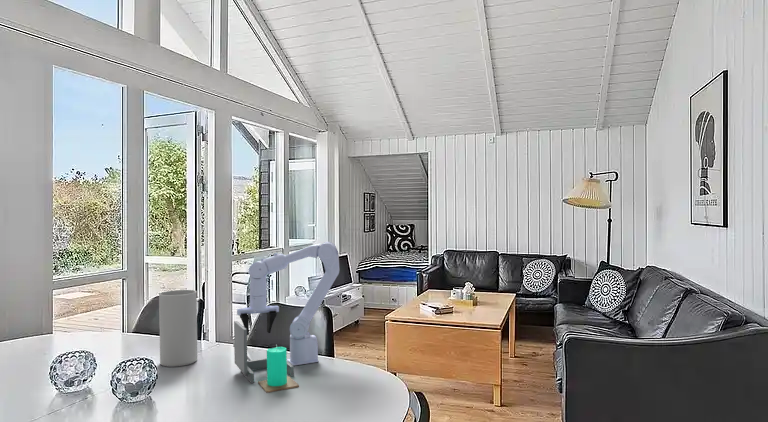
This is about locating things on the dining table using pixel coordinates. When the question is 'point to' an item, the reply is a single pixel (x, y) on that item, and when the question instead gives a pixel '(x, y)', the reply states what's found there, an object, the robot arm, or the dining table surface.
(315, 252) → the robot arm
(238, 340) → the grey bracket
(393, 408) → the dining table surface
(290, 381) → the tan pad
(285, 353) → the candle
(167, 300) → the cylinder vase
